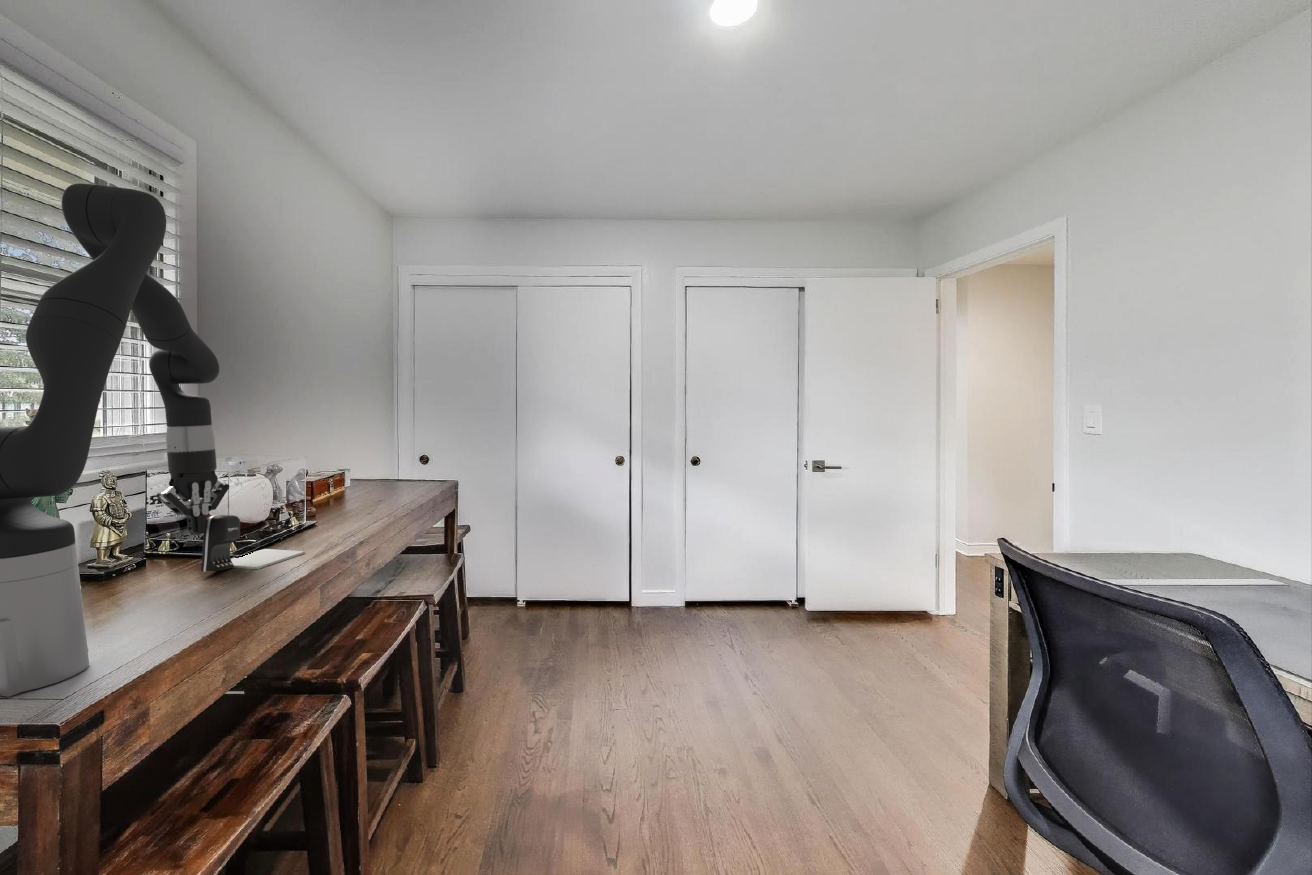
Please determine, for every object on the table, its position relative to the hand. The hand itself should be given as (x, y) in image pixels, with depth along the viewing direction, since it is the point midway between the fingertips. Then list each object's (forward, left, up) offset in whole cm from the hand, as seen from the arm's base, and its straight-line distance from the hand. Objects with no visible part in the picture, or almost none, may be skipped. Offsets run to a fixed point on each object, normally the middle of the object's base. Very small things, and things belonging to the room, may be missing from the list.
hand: (198, 533), depth 115 cm
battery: (+3, 0, -9) cm, 10 cm away
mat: (+13, 0, -9) cm, 16 cm away
